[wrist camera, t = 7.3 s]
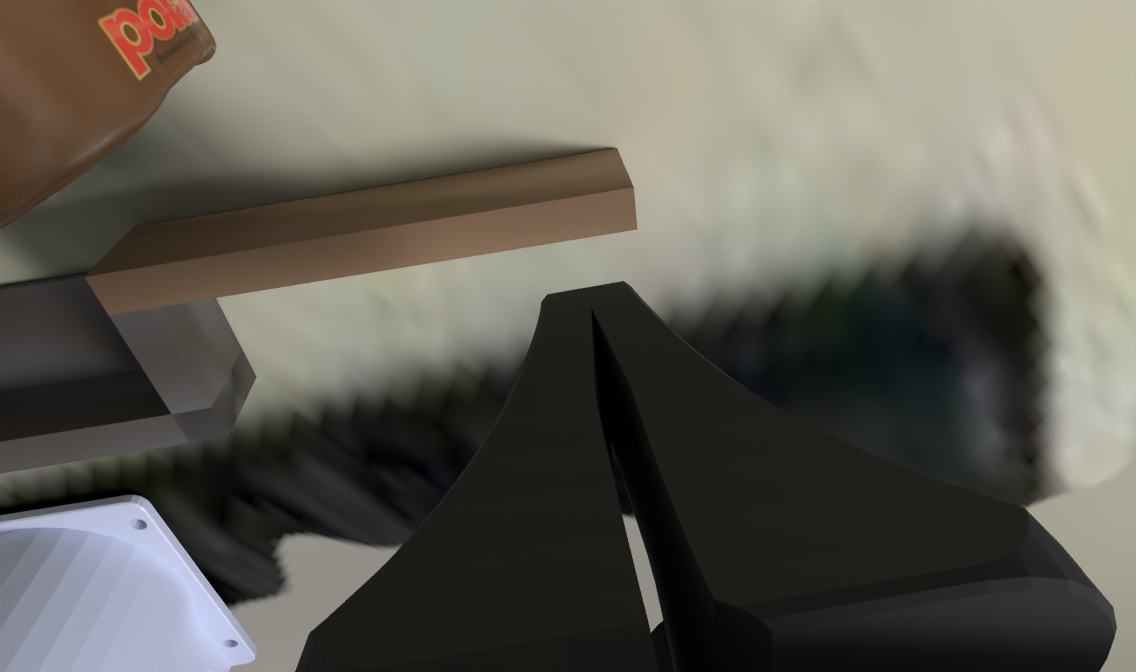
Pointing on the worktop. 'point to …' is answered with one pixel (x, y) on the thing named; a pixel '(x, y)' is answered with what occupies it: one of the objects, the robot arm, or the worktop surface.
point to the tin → (83, 84)
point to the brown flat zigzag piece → (240, 265)
